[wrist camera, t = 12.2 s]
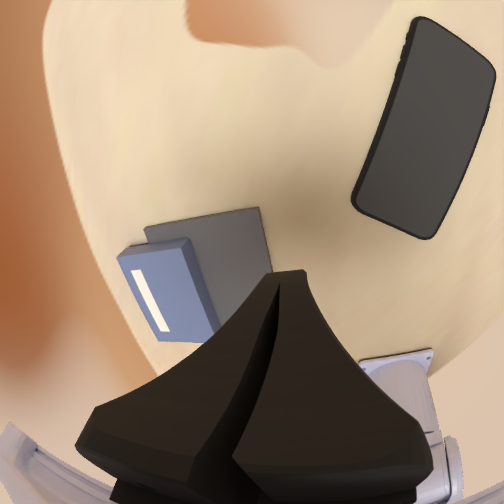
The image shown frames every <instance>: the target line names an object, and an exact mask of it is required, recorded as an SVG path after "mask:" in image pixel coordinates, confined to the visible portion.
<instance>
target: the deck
mask: <svg viewBox="0 0 504 504" xmlns="http://www.w3.org/2000/svg"><path fill="white" fill-rule="evenodd" d="M116 258H117V260H118V263H119V265H120V267H121V269H122V271H123V274H124V276H125V278H126V280H127V282H128V284H129V286H130V288H131V290H132V292H133V294H134V296H135V298H136V300H137V302H138V304H139V306H140V308H141V310H142V312H143V314H144V316H145V318H146V320H147V322H148V323H149V325H150V327H151V329H152V331H153V332H154V334H155V336H156V338H157V340H158V341H166V342H206V341H207V340H208V339H209V338H210V337H212V336H213V335H214V334H215V333H216V332H217V331H218V330H219V329H220V328H221V325H220V323H219V320H218V318H217V315H216V312H215V310H214V307H213V304H212V302H211V299H210V296H209V294H208V291H207V288H206V285H205V283H204V280H203V277H202V274H201V271H200V269H199V266H198V263H197V260H196V257H195V254H194V251H193V248H192V245H191V242H190V239H189V238H184V239H177V240H171V241H165V242H158V243H152V244H146V245H140V246H134V247H128V248H125V249H124V250H123V251H122V252H121V253H120V254H119V255H118V256H117V257H116Z"/></svg>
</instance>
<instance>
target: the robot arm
mask: <svg viewBox="0 0 504 504" xmlns="http://www.w3.org/2000/svg"><path fill="white" fill-rule="evenodd" d="M433 355H434V351H433V349H428V350H423V351H418V352H413V353H408V354H402V355H396V356H390V357H384V358H377V359H370V360H363V361H361V362H359V364H357V363H356V362H355V361H354V360H353V358H352V357H351V356H350V355H349V353H348V352H347V351H346V350H345V348H344V347H343V346H342V344H341V343H340V342H339V340H338V339H337V337H336V336H335V334H334V333H333V332H332V330H331V328H330V327H329V325H328V324H327V322H326V320H325V319H324V317H323V315H322V313H321V312H320V310H319V308H318V306H317V304H316V302H315V300H314V298H313V295H312V293H311V291H310V288H309V285H308V281H307V274H306V272H305V271H304V270H303V269H302V270H292V271H283V272H273V273H266V274H265V275H264V276H263V278H262V279H261V280H260V281H259V283H258V284H257V285H256V287H255V288H254V289H253V291H252V292H251V293H250V294H249V296H248V297H247V298H246V299H245V301H244V302H243V303H242V304H241V306H240V307H239V308H238V309H237V310H236V312H235V313H234V314H233V315H232V316H231V317H230V318H229V319H228V320H227V321H226V322H225V324H224V325H223V326H222V327H221V328H220V329H219V330H218V331H217V332H216V333H215V334H214V335H213V336H212V337H210V338H209V339H208V340H207V341H206V342H205V343H204V344H202V345H201V346H200V347H199V348H198V349H197V350H195V351H194V352H193V353H192V354H190V355H189V356H188V357H186V358H185V359H183V360H182V361H181V362H179V363H178V364H176V365H175V366H174V367H172V368H171V369H169V370H168V371H167V372H165V373H163V374H162V375H160V376H159V377H157V378H155V379H154V380H152V381H150V382H148V383H147V384H145V385H143V386H141V387H139V388H138V389H135V390H134V391H132V392H130V393H127V394H125V395H123V396H121V397H118V398H116V399H114V400H111V401H109V402H107V403H104V404H102V405H100V406H97V407H95V408H94V410H93V412H92V414H91V416H90V418H89V419H88V421H87V423H86V425H85V427H84V429H83V431H82V432H81V434H80V436H79V438H78V440H77V442H76V444H75V447H76V450H77V451H78V452H79V453H80V454H81V455H82V456H83V457H84V458H86V459H87V460H89V461H90V462H92V463H93V464H94V465H96V466H97V467H99V468H100V469H102V470H104V471H105V472H107V473H108V474H110V475H112V476H113V477H115V478H117V481H116V483H115V486H114V488H113V487H111V486H109V485H107V484H105V483H102V482H100V481H98V480H96V479H94V478H92V477H90V476H89V475H87V474H84V473H83V472H81V471H79V470H77V469H76V468H74V467H72V466H70V465H69V464H67V463H65V462H64V461H62V460H60V459H59V458H57V457H56V456H54V455H53V454H51V453H49V452H48V451H46V450H45V449H43V448H42V447H41V446H39V445H38V444H37V443H36V442H35V441H34V440H32V439H31V438H30V437H29V436H28V435H26V434H25V433H24V432H23V431H21V430H20V429H19V428H18V427H16V426H15V425H14V424H12V423H11V422H9V423H8V425H7V426H6V428H5V430H4V431H3V433H2V435H1V436H0V481H1V482H2V484H3V485H4V487H5V489H6V490H7V492H8V494H9V496H10V498H11V499H12V501H13V503H14V504H435V503H436V504H504V481H502V482H500V483H498V484H496V485H494V486H492V487H490V488H488V489H486V490H484V491H482V492H479V493H477V494H475V495H472V496H470V497H467V498H465V499H463V491H462V489H463V471H462V463H461V457H460V452H459V447H458V444H457V440H456V439H455V438H451V436H447V437H445V438H444V442H445V450H444V444H443V439H442V434H441V430H439V425H438V421H437V416H436V412H435V407H434V403H433V399H432V395H431V391H430V388H429V384H428V380H427V377H426V375H427V372H428V369H429V367H430V364H431V361H432V358H433ZM445 453H446V455H445ZM449 483H450V487H449Z"/></svg>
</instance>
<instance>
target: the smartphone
mask: <svg viewBox="0 0 504 504" xmlns="http://www.w3.org/2000/svg"><path fill="white" fill-rule="evenodd" d="M400 58H401V60H400V62H399V64H398V67H397V70H396V73H395V79H394V82H393V86H392V89H391V92H390V95H389V98H388V100H387V103H386V106H385V109H384V112H383V115H382V118H381V120H380V123H379V126H378V129H377V131H376V134H375V137H374V139H373V142H372V144H371V147H370V150H369V152H368V155H367V157H366V160H365V162H364V165H363V167H362V170H361V172H360V175H359V177H358V180H357V182H356V184H355V187H354V189H353V192H352V195H351V203H352V205H353V206H354V208H355V209H356V210H357V211H359V212H360V213H362V214H364V215H366V216H368V217H371V218H373V219H376V220H378V221H380V222H382V223H385V224H387V225H389V226H392V227H394V228H396V229H398V230H400V231H403V232H405V233H407V234H409V235H411V236H414V237H416V238H418V239H421V240H428V239H431V238H432V237H434V236H435V234H436V233H437V231H438V229H439V227H440V226H441V224H442V222H443V220H444V218H445V216H446V214H447V212H448V210H449V208H450V206H451V204H452V202H453V200H454V198H455V196H456V193H457V191H458V189H459V187H460V185H461V182H462V180H463V178H464V176H465V173H466V171H467V168H468V166H469V163H470V161H471V158H472V156H473V153H474V151H475V148H476V145H477V143H478V140H479V137H480V134H481V131H482V128H483V126H484V124H485V121H486V118H487V114H488V111H489V108H490V106H489V105H490V102H491V98H492V94H493V90H494V86H495V82H496V71H495V69H494V67H493V65H492V64H491V63H490V62H489V61H488V60H487V59H486V58H485V57H484V56H483V55H481V54H480V53H479V52H478V51H476V50H475V49H474V48H473V47H471V46H470V45H469V44H467V43H466V42H465V41H463V40H462V39H460V38H459V37H458V36H456V35H455V34H453V33H452V32H450V31H449V30H447V29H446V28H444V27H443V26H441V25H440V24H438V23H436V22H435V21H433V20H432V19H429V18H427V17H423V16H418V17H415V18H414V19H413V20H412V22H411V25H410V29H409V32H408V33H407V36H406V43H405V45H404V47H403V50H402V54H401V57H400Z"/></svg>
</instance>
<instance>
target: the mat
mask: <svg viewBox="0 0 504 504" xmlns="http://www.w3.org/2000/svg"><path fill="white" fill-rule="evenodd" d="M143 230H144V232H145V235H146V238H147V240H148V243H149V244H152V243H158V242H165V241H171V240H177V239H184V238H189V239H190V242H191V245H192V248H193V251H194V254H195V257H196V260H197V263H198V266H199V269H200V271H201V274H202V277H203V280H204V283H205V285H206V288H207V291H208V294H209V296H210V299H211V302H212V304H213V307H214V310H215V312H216V315H217V318H218V320H219V323H220V325H221V327H222V326H223V325H224V324H225V322H226V321H227V320H228V319H229V318H230V317H231V316H232V315H233V314H234V313H235V312H236V310H237V309H238V308H239V307H240V306H241V304H242V303H243V302H244V301H245V299H246V298H247V297H248V296H249V294H250V293H251V292H252V291H253V289H254V288H255V287H256V285H257V284H258V283H259V281H260V280H261V279H262V278H263V276H264V275H265V274H266V273H273V271H272V266H271V262H270V257H269V252H268V248H267V243H266V239H265V234H264V230H263V225H262V221H261V216H260V212H259V207H255V208H249V209H243V210H236V211H230V212H224V213H218V214H213V215H207V216H201V217H196V218H190V219H185V220H179V221H174V222H169V223H163V224H158V225H153V226H148V227H145V228H144V229H143ZM192 343H205V342H192Z"/></svg>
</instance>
